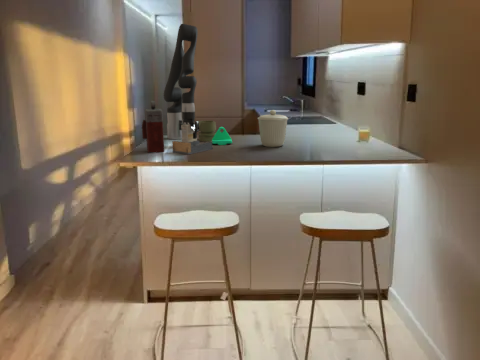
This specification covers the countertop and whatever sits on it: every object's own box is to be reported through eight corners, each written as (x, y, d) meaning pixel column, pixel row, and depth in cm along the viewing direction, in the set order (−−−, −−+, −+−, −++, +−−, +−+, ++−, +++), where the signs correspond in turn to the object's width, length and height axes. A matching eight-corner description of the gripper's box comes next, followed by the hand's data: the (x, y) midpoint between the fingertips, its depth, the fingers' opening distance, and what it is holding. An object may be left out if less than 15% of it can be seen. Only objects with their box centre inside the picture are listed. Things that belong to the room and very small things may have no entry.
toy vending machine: (143, 150, 261) (139, 100, 254) (162, 149, 263) (160, 100, 257) (143, 153, 252) (140, 101, 245) (164, 152, 255) (161, 101, 248)
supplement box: (191, 144, 279) (191, 123, 276) (197, 145, 276) (196, 123, 273) (181, 146, 273) (181, 124, 270) (187, 147, 270) (186, 125, 267)
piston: (200, 122, 286) (196, 121, 296) (201, 141, 289) (196, 139, 299) (217, 122, 289) (213, 120, 300) (218, 140, 292) (213, 138, 303)
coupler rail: (172, 152, 254) (172, 141, 253) (197, 147, 269) (196, 137, 268) (188, 154, 247) (188, 143, 245) (212, 149, 262) (212, 138, 261)
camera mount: (212, 145, 276) (212, 128, 274) (212, 143, 283) (211, 126, 281) (232, 145, 277) (232, 128, 275) (231, 143, 284) (231, 126, 282)
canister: (251, 146, 271) (251, 110, 266) (270, 142, 284) (270, 108, 279) (275, 149, 259) (275, 112, 254) (294, 145, 272) (294, 109, 267)
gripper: (175, 110, 271) (176, 137, 275) (193, 111, 262) (194, 139, 266) (184, 109, 276) (185, 136, 280) (201, 110, 268) (202, 138, 272)
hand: (189, 138), depth 273 cm, fingers open, 8 cm apart
